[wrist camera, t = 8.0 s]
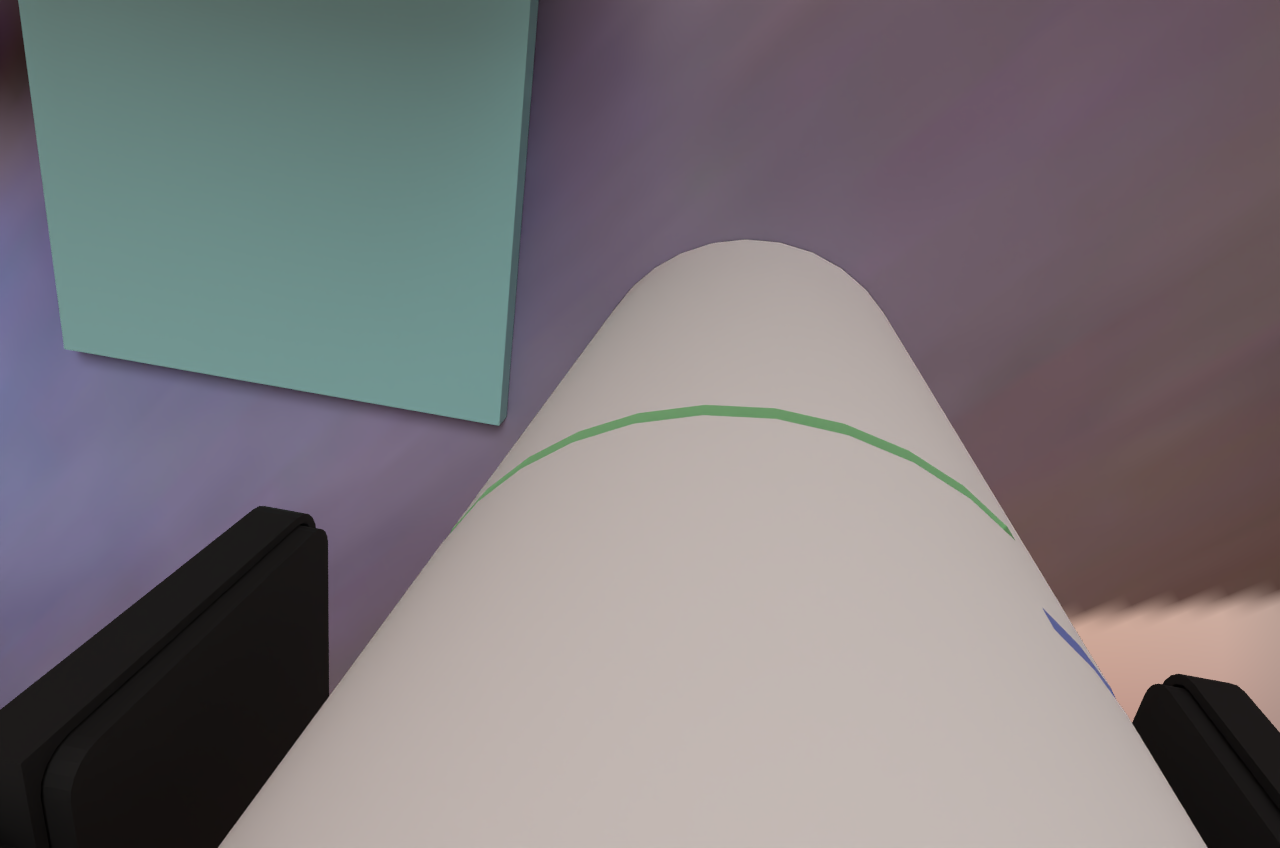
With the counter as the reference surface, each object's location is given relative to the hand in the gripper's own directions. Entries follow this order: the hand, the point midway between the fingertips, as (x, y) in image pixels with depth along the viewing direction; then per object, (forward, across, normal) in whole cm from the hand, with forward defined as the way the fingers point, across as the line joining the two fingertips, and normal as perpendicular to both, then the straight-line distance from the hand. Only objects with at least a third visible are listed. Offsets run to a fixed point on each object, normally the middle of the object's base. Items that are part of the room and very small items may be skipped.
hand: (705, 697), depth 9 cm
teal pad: (+10, +11, -4) cm, 16 cm away
